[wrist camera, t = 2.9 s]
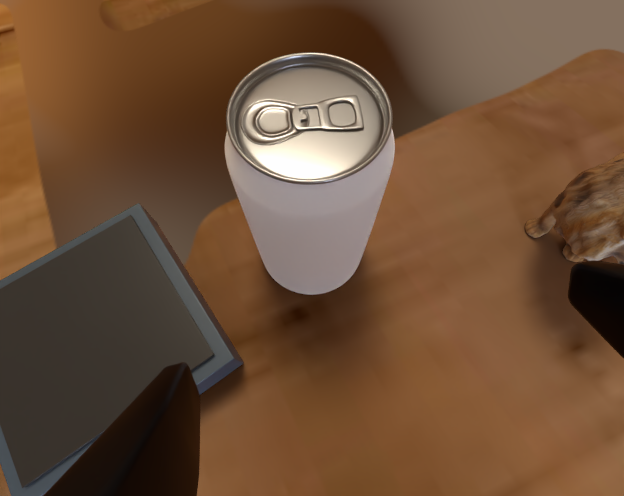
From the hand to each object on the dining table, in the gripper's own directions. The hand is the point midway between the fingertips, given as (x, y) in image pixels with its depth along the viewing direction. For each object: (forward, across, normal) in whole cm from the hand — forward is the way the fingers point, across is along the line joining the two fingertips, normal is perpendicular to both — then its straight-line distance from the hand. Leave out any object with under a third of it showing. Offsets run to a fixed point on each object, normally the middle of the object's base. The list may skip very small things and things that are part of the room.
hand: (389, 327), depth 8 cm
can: (+15, 0, +4) cm, 15 cm away
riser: (+13, +13, +6) cm, 19 cm away
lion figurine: (+13, -18, +6) cm, 23 cm away
